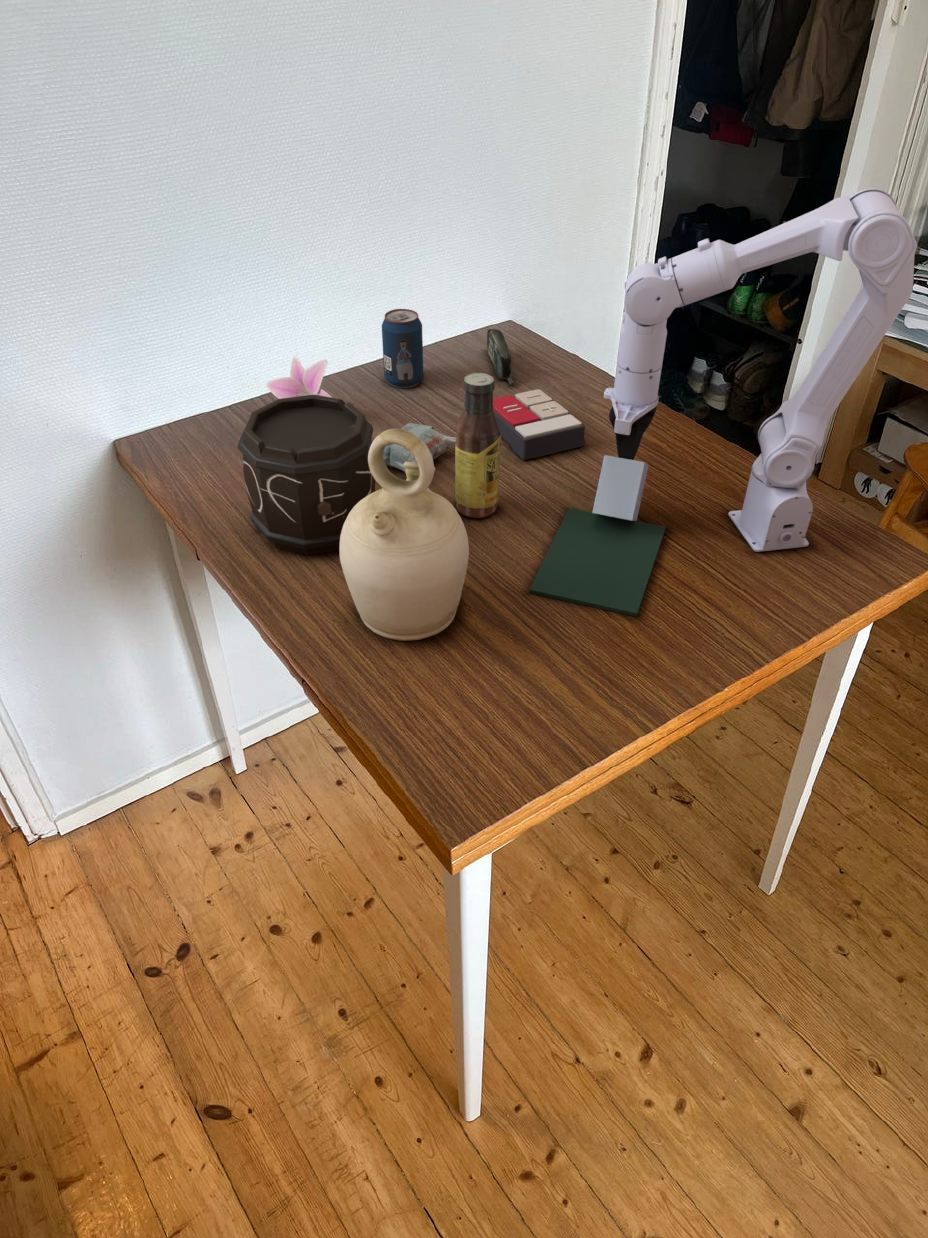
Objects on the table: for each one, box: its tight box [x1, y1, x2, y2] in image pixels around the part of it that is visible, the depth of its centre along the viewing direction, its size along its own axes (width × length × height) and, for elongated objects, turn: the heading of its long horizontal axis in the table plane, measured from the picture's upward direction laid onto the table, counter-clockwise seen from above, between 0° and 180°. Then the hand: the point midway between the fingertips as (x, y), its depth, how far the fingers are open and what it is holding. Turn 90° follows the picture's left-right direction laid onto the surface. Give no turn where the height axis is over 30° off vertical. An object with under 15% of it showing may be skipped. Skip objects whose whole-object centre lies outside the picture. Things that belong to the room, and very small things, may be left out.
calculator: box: [493, 388, 586, 461], centre depth 149 cm, size 11×4×15 cm
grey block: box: [591, 454, 649, 521], centre depth 128 cm, size 8×6×6 cm
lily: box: [265, 356, 333, 400], centre depth 152 cm, size 12×12×10 cm
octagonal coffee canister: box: [237, 395, 376, 556], centre depth 125 cm, size 18×18×16 cm
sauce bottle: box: [454, 372, 502, 519], centre depth 127 cm, size 6×6×20 cm
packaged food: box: [383, 422, 456, 473], centre depth 141 cm, size 9×12×5 cm
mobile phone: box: [486, 328, 515, 386], centre depth 167 cm, size 5×3×15 cm
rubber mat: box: [528, 507, 667, 617], centre depth 124 cm, size 20×14×1 cm
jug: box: [339, 428, 470, 642], centre depth 108 cm, size 15×16×25 cm
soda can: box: [381, 308, 424, 389], centre depth 160 cm, size 7×7×12 cm
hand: (626, 456), depth 126 cm, fingers closed
